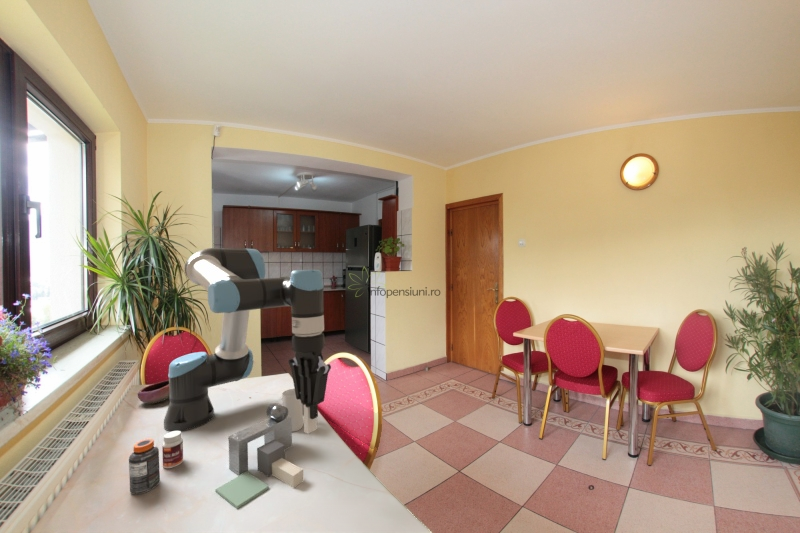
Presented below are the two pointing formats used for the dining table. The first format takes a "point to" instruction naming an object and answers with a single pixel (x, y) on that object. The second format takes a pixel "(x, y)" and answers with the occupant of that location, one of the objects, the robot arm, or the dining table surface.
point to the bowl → (154, 392)
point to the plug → (278, 464)
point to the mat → (241, 489)
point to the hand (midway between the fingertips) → (310, 430)
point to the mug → (293, 408)
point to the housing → (271, 428)
